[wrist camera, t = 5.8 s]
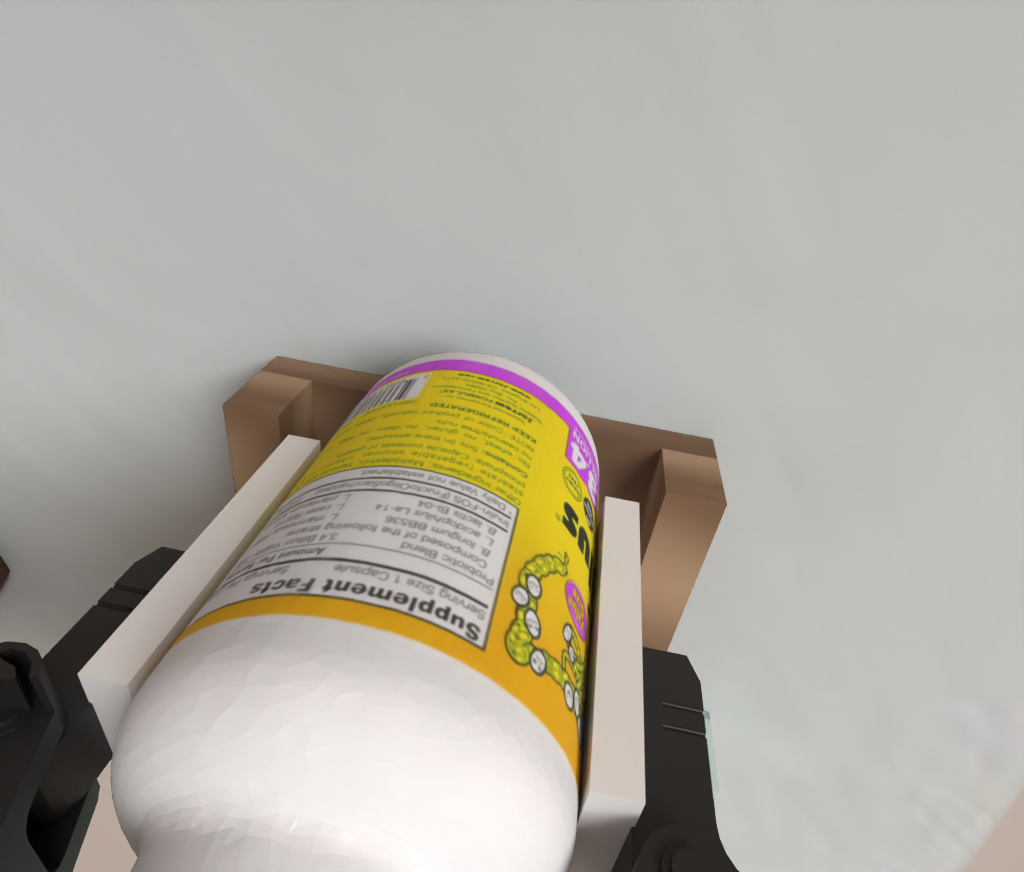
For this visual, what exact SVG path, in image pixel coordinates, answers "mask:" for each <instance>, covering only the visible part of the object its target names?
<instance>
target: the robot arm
mask: <svg viewBox="0 0 1024 872" xmlns="http://www.w3.org/2000/svg"><path fill="white" fill-rule="evenodd" d="M320 453H321V446H320V440H314V439H309V438H304V437H299V436H294V435H288V436H287V437H286V438H285V439H284V441H283V442H282V443H281V444H280V445H279V446H278V447H277V449H276V450H275V451H274V452H273V453H272V454H271V455H270V456H269V458H268V459H267V460H266V461H265V462H264V463H263V464H262V466H261V467H260V468H259V469H258V470H257V471H256V472H255V473H254V475H253V476H252V477H251V478H250V479H249V480H248V481H247V482H246V484H245V485H244V486H243V487H242V488H241V489H240V490H239V492H238V493H237V494H236V495H235V496H234V497H233V498H232V499H231V501H230V502H229V503H228V504H227V505H226V506H225V507H224V509H223V510H222V511H221V512H220V513H219V514H218V515H217V516H216V518H215V519H214V520H213V521H212V522H211V523H210V524H209V525H208V527H207V528H206V529H205V530H204V531H203V532H202V533H201V535H200V536H199V537H198V538H197V539H196V540H195V541H194V542H193V544H192V545H191V546H190V547H189V548H188V549H187V550H186V552H185V551H181V550H176V549H171V548H166V547H161V548H159V549H157V550H156V551H154V552H152V553H151V554H149V555H147V556H145V557H144V558H142V559H140V560H139V561H137V562H135V563H134V564H133V565H132V566H131V567H130V568H129V569H128V570H127V571H126V572H125V573H124V574H123V576H122V577H121V578H120V579H119V580H118V581H117V582H116V583H115V586H114V587H113V588H110V589H109V590H108V591H107V592H106V593H105V594H104V595H103V596H102V597H101V598H100V599H99V600H98V604H97V605H94V606H93V607H92V608H91V609H90V610H89V611H88V612H87V613H86V614H85V615H84V616H83V617H82V618H81V619H80V620H79V621H78V622H77V623H76V624H75V625H74V626H73V627H72V628H71V630H70V631H69V632H68V633H67V634H66V635H65V636H64V637H63V638H62V639H61V640H60V641H59V642H58V643H57V644H56V645H55V646H54V647H53V648H52V649H51V650H50V651H49V652H48V653H47V654H46V655H45V657H44V658H43V659H42V658H41V656H40V654H39V652H38V650H37V649H35V648H33V647H32V646H30V645H28V644H26V643H19V642H3V643H0V872H73V869H74V866H75V863H76V860H77V858H78V855H79V852H80V849H81V846H82V843H83V841H84V838H85V835H86V832H87V829H88V827H89V824H90V821H91V818H92V815H93V813H94V810H95V806H96V804H97V801H98V795H99V788H100V785H99V783H98V781H97V777H98V776H99V775H100V773H101V772H102V771H103V769H104V768H105V767H106V765H107V764H108V763H109V761H110V760H111V758H112V755H113V750H114V744H115V741H116V738H117V734H118V731H119V728H120V725H121V722H122V719H123V717H124V715H125V713H126V710H127V709H128V707H129V705H130V704H131V702H132V700H133V699H134V697H135V695H136V694H137V692H138V691H139V689H140V688H141V687H142V685H143V684H144V682H145V681H146V680H147V678H148V677H149V676H150V674H151V673H152V672H153V671H154V669H155V668H156V667H157V665H158V664H159V663H160V661H161V660H162V659H163V657H164V656H165V655H166V653H167V652H168V651H169V649H170V648H171V647H172V645H173V644H174V642H175V641H176V640H177V638H178V637H179V636H180V635H181V634H182V633H183V632H184V630H185V629H186V628H187V626H188V625H189V624H190V623H191V621H192V620H193V619H194V617H195V616H196V615H197V613H198V612H199V611H200V610H201V608H202V607H203V606H204V605H205V603H206V602H207V601H208V599H209V598H210V597H211V596H212V595H213V593H214V592H215V591H216V589H217V588H218V587H219V585H220V584H221V583H222V581H223V580H224V579H225V577H226V576H227V575H228V574H229V572H230V571H231V570H232V568H233V567H234V566H235V564H236V563H237V562H238V561H239V559H240V558H241V557H242V555H243V554H244V553H245V552H246V550H247V549H248V548H249V546H250V545H251V544H252V543H253V541H254V540H255V539H256V537H257V536H258V535H259V533H260V532H261V531H262V529H263V528H264V527H265V525H266V524H267V523H268V522H269V520H270V519H271V518H272V516H273V515H274V514H275V512H276V511H277V510H278V508H279V507H280V505H281V504H282V503H283V502H284V500H285V499H286V498H287V497H288V495H289V494H290V492H291V491H292V490H293V488H294V487H295V486H296V484H297V483H298V482H299V480H300V479H301V478H302V477H303V475H304V474H305V473H306V472H307V470H308V469H309V468H310V466H311V465H312V463H313V462H314V461H315V459H316V458H317V457H318V456H319V454H320ZM703 710H704V709H703V701H702V692H701V683H700V680H699V678H698V677H697V675H696V673H695V671H694V669H693V667H692V665H691V663H690V661H689V659H688V658H687V656H685V655H680V654H676V653H671V652H666V651H661V650H657V649H652V648H647V647H643V646H642V612H641V564H640V516H639V503H638V502H633V501H628V500H622V499H617V498H612V497H607V496H605V500H604V504H603V508H602V512H601V516H600V519H599V523H598V527H597V536H596V551H595V569H594V580H593V595H592V612H591V624H590V637H589V654H588V667H587V680H586V701H585V709H584V726H583V744H582V759H581V775H580V793H579V808H578V814H577V829H576V840H575V845H574V851H573V857H572V862H571V866H570V869H569V872H739V871H738V870H737V869H736V867H735V866H734V864H733V863H732V861H731V860H730V858H729V857H728V855H727V854H726V852H725V849H724V847H723V845H722V843H721V840H720V838H719V833H718V829H717V824H716V817H715V808H714V799H713V790H712V781H711V772H710V763H709V754H708V745H707V738H706V737H705V735H706V727H705V718H704V715H703Z"/></svg>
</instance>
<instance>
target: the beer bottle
mask: <svg viewBox="0 0 1024 872" xmlns="http://www.w3.org/2000/svg"><path fill="white" fill-rule="evenodd" d="M8 572H9V569H8V568H7V566H6V564H5V563H4V561H3V560H2V558H1V557H0V588H1V586H2V585H3V583H4V581H5V579H6V577H7V575H8Z"/></svg>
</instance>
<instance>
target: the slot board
mask: <svg viewBox="0 0 1024 872" xmlns="http://www.w3.org/2000/svg"><path fill="white" fill-rule="evenodd" d="M382 378H383V376H378V375H373V374H368V373H362V372H357V371H352V370H347V369H342V368H336V367H331V366H326V365H321V364H316V363H310V362H305V361H300V360H295V359H289V358H284V357H279V356H277V357H276V358H275V359H274V360H273V361H272V362H271V363H269V364H268V365H267V366H266V367H265V368H264V369H263V370H261V371H260V372H259V373H258V374H257V375H256V376H255V377H254V378H252V379H251V380H250V381H249V382H248V383H247V384H246V385H244V386H243V387H242V388H241V389H240V390H239V391H238V392H236V393H235V394H234V395H233V396H232V397H231V398H230V399H229V400H227V401H226V402H225V403H224V404H223V410H224V417H225V424H226V431H227V437H228V444H229V451H230V457H231V464H232V471H233V478H234V484H235V491H236V494H237V493H238V492H239V490H240V489H241V488H242V487H243V486H244V485H245V484H246V482H247V481H248V480H249V479H250V478H251V477H252V476H253V475H254V473H255V472H256V471H257V470H258V469H259V468H260V467H261V466H262V464H263V463H264V462H265V461H266V460H267V459H268V458H269V456H270V455H271V454H272V453H273V452H274V451H275V450H276V449H277V447H278V446H279V445H280V444H281V443H282V442H283V441H284V439H285V438H286V437H287V436H288V435H294V436H299V437H304V438H309V439H314V440H320V446H321V452H322V450H323V449H324V448H325V446H326V445H327V444H328V442H329V441H330V440H331V438H332V437H333V436H334V434H335V433H336V432H337V430H338V429H339V428H340V427H341V425H342V424H343V423H344V422H345V420H346V419H347V418H348V416H349V415H350V414H351V412H352V411H353V410H354V409H355V407H356V406H357V405H358V403H359V402H360V401H361V400H362V399H363V398H364V396H365V395H366V394H367V393H368V392H369V391H370V390H371V389H372V388H373V386H374V385H375V384H376V383H377V382H378V381H379V380H381V379H382ZM580 415H581V416H582V418H583V420H584V422H585V423H586V425H587V427H588V429H589V431H590V433H591V436H592V439H593V442H594V444H595V448H596V452H597V457H598V464H599V503H598V519H597V527H598V523H599V519H600V516H601V512H602V508H603V504H604V500H605V496H607V497H612V498H617V499H622V500H628V501H633V502H638V503H639V516H640V564H641V612H642V646H643V647H647V648H652V649H657V650H661V651H666V652H667V649H668V647H669V644H670V642H671V640H672V637H673V635H674V632H675V630H676V627H677V625H678V623H679V620H680V618H681V615H682V613H683V610H684V608H685V606H686V603H687V601H688V598H689V596H690V593H691V591H692V588H693V586H694V584H695V581H696V579H697V576H698V574H699V571H700V569H701V567H702V564H703V562H704V559H705V557H706V554H707V552H708V550H709V547H710V545H711V542H712V540H713V537H714V535H715V532H716V530H717V528H718V525H719V523H720V520H721V518H722V515H723V513H724V511H725V508H726V506H727V502H726V498H725V493H724V489H723V484H722V479H721V475H720V470H719V466H718V461H717V456H716V452H715V447H714V443H713V440H712V439H707V438H702V437H696V436H691V435H686V434H681V433H676V432H670V431H665V430H660V429H655V428H649V427H644V426H639V425H634V424H629V423H623V422H618V421H613V420H608V419H602V418H597V417H592V416H587V415H582V414H580Z"/></svg>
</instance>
